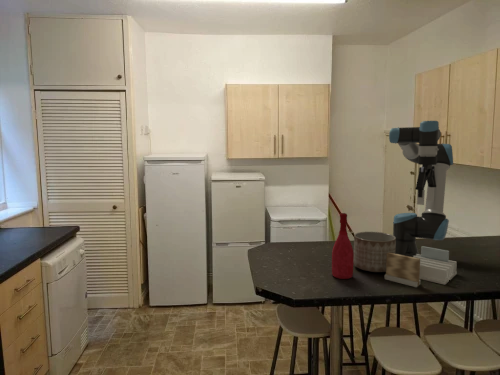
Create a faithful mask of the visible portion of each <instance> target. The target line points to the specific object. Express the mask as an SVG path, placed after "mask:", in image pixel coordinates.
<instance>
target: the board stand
mask: <svg viewBox="0 0 500 375" xmlns="http://www.w3.org/2000/svg"><path fill="white" fill-rule="evenodd" d="M384 280H387V281H390V282H395V283H399V284H401V285H402V284H403V285H405V286H410V287H414V288H418V287H419V286H421V279H419V286H418V282H415V281H411V280H407V279H403V278H399V277H395V276H391V275H387V274H386V273H385V274H384Z"/></svg>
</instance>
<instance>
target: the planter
mask: <svg viewBox="0 0 500 375" xmlns="http://www.w3.org/2000/svg"><path fill="white" fill-rule="evenodd" d="M395 248H396V237H395V236H393V234H390V233H386V232H381V231H380V232H379V231H360V232H359V231H358V232H356V233H354V236H353V252H354V264H353V266H354V267H356V268H358V269H359V270H363V271H366V272H372V273H386V262H387V253H388V252H389V253H394V254H395Z"/></svg>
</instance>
